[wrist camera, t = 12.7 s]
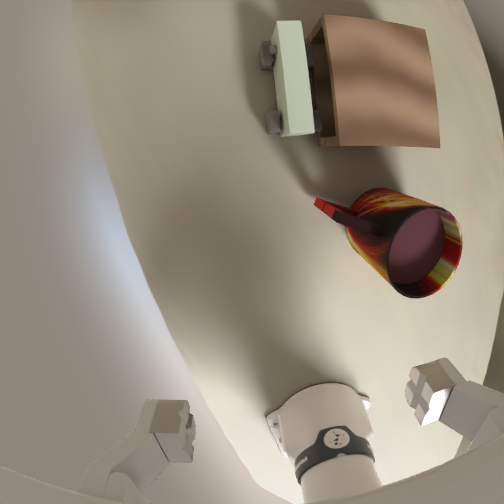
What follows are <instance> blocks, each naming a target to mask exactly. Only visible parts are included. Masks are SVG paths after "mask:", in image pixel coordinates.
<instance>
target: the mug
mask: <svg viewBox="0 0 504 504" xmlns="http://www.w3.org/2000/svg"><path fill="white" fill-rule="evenodd" d="M314 205H315V206H316V207H317V208H319V209H320V210H321V211H323V212H324V213H325V214H327V215H328V216H329V217H330V218H332V219H333V220H334V221H335V222H337V223H340V224H343V225H345V226H346V231H347V237H348V239H349V242H350V244H351V246H352V247H353V249H354V250H355V251H356V252H357V253H358V254H359V255H361V256H362V257H363V258H364V259H365V260H366V261H367V262H368V263H369V264H370V265H371V266H372V267H373V268H374V269H375V270H376V271H377V272H378V273H379V274H380V275H381V276H382V277H383V278H384V279H385V280H386V281H387V282H388V283H389V284H390V285H391V286H392V287H393V288H394V289H395V290H396V291H397V292H399V293H400V294H402V295H403V296H406V297H409V298H423V297H427V296H429V295H432V294H434V293H435V292H437V291H438V290H440V289H441V288H442V287H443V286H444V285H445V284H446V283H447V282H448V281H449V280H450V278H451V277H452V275H453V274H454V272H455V270H456V268H457V266H458V264H459V261H460V257H461V252H462V234H461V229H460V227H459V224H458V222H457V220H456V219H455V217H454V216H453V215H452V214H451V213H450V212H449V211H447V210H445V209H444V208H441V207H439V206H436V205H433V204H431V203H428V202H425V201H422V200H419V199H417V198H414V197H411V196H408V195H405V194H402V193H399V192H396V191H393V190H390V189H386V188H376V189H372V190H369V191H367V192H365V193H364V194H362V195H361V196H360V197H359V198H358V199H357V200H356V201H355V202H354V204H353V205H352V207H351V209H349V208H346V207H343V206H340V205H337V204H334V203H331V202H328V201H325V200H322V199H320V198H317V197H316V200H315V203H314Z"/></svg>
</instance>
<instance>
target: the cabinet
mask: <svg viewBox="0 0 504 504" xmlns="http://www.w3.org/2000/svg"><path fill="white" fill-rule="evenodd" d="M307 41H308V46H305V51H306V58H307V66H308V69H311V70H312V79H313V87H314V96H315V106H316V110H313V120H314V131H315V132H318V139H319V146H407V147H430V148H440V134H439V120H438V108H437V99H436V90H435V83H434V76H433V69H432V63H431V57H430V52H429V47H428V42H427V37H426V32H425V29H421V28H416V27H412V26H407V25H403V24H398V23H392V22H387V21H381V20H374V19H368V18H360V17H351V16H342V15H329V14H323V16H322V17H321V19H320V20H319V22H318V23H317V25H316V26H315V28H314V29H313V31H312V32H311V34H310V35H309V37H308V38H307ZM269 45H271V41H264V42H261V46H260V51H259V55H260V64H261V70H273V54H270V51H269ZM266 122H267V133H268V134H278V133H280V132H281V130H280V119H279V110H269V111H268V112H267V113H266Z"/></svg>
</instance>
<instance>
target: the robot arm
mask: <svg viewBox="0 0 504 504" xmlns="http://www.w3.org/2000/svg"><path fill="white" fill-rule="evenodd" d="M409 376H410V378H411V380H410V381H409V382H408V383H407V385H406V389H405V394H406V399H407V402H408V404H409V406H410V407H412V408H414V409H415V413H414V415H415V416H416V418H417V420H418V422H419V423H420V425H421V426H422V425H425V424H428V423H431V422H434V421H437V420H439V421H440V422H442V423H444V424H445V425H447V426H448V427H450V428H452V429H453V430H455V431H456V432H458V433H460V434H461V435H463V436H464V437H466V438H468V439H470V440H471V441H472V442H471V444H470V445H469V447H468V448H467V451H466V453H465V454H463V455H461V456H458V457H456V458H454V459H452V460H450V461H448V462H445V463H443V464H441V465H439V466H436V467H434V468H431V469H429V470H426V471H424V472H421V473H419V474H416V475H413V476H411V477H408V478H405V479H402V480H399V481H396V482H393V483H390V484H387V485H384V486H383V485H382V483H381V481H380V479H379V476H378V474H377V472H376V469H375V466H374V462H375V459H374V454H373V450H372V448H371V447H370V444H369V440H370V439H371V436H372V435H373V430H372V427H371V424H370V421H369V418H368V415H367V411H368V409H369V407H370V405H371V403H370V399H369V398H367V397H364V396H360V395H358V394H357V393H356V392H355V391H354V390H353V389H352V388H351V387H349V386H346V385H343V384H338V383H326V384H319V385H315V386H312V387H309V388H306V389H304V390H302V391H300V392H298V393H296V394H295V395H293V396H292V397H291V398H289V399H288V400H287V401H286V402H285V403H284V405H283V406H282V407H281V408H279V409H278V410H276V411H274V412H272V413H270V414H269V415H268V416H267V422H268V425H269V427H270V429H271V431H272V433H273V435H274V438H275V440H276V442H277V444H278V446H279V448H280V450H281V452H282V455H283V456H284V458H287V459H290V461H291V463H292V465H293V466H294V468H295V474H296V478H297V480H298V483H299V484H300V485H301V487H302V493H303V499H304V504H504V394H503V393H501V392H498V391H496V390H493V389H490V388H487V387H485V386H482V385H480V384H477V383H475V382H472V381H470V380H469V381H466V380H465V379H464V378H463V376H462V375H461V374H460V373H459V371H458V370H457V369H456V368H455V367H454V365H453V364H452V363H451V362H450V361H449V360H448V359H447V358H442V359H439V360H436V361H432V362H429V363H426V364H423V365H419V366H416V367H413V368H412V369H411V371H410V374H409ZM189 410H190V406H189V403H188V401H187V400H149V399H147V400H145V401H144V403H143V407H142V410H141V413H140V416H139V419H138V423H137V426H136V429H135V432H130V433H129V434H128V435H126V436H125V437H124V438H123V439H121V440H120V441H119V442H118V443H116V444H115V445H114V446H113V447H111V448H110V449H109V450H107V451H106V452H105V453H104V454H102V455H101V456H100V457H98V458H97V459H96V460H95V461H93V462H92V463H91V464H89V465H88V466H87V469H86V471H85V474H84V477H83V480H82V483H81V486H80V488H79V492H74V491H70V490H67V489H63V488H60V487H57V486H54V485H51V484H48V483H44V482H42V481H38V480H36V479H33V478H31V477H28V476H25V475H23V474H20V473H18V472H15V471H13V470H11V469H8V468H6V467H1V466H0V504H151V503H150V502H149V501H148V500H147V499H146V497H145V496H144V495H143V493H144V492H145V491H146V490H147V489H148V488H149V487H150V485H151V484H152V483H153V482H154V481H155V480H156V478H157V477H158V476H159V475H160V474H161V473H162V472H163V470H164V469H165V468H166V467H167V466H168V465H169V462H170V463H192V460H193V452H194V447H193V445H192V441H193V440H194V439H195V433H196V432H195V421H194V418H193V415H192V414H190V413H189Z"/></svg>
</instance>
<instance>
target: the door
mask: <svg viewBox="0 0 504 504" xmlns="http://www.w3.org/2000/svg"><path fill="white" fill-rule="evenodd" d="M269 51H270V54H273V72H274V80H275V89H276V99H277V109H278V110H279V119H280V130H281V132H280V137H285V136H301V135H306V134H311V133H315V131H314V120H313V110H312V100H311V91H310V82H309V74H308V66H307V58H306V51H305V44H304V37H303V30H302V24H301V21H277V22H276V25H275V28H274V31H273V35H272V38H271V45H269Z"/></svg>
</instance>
